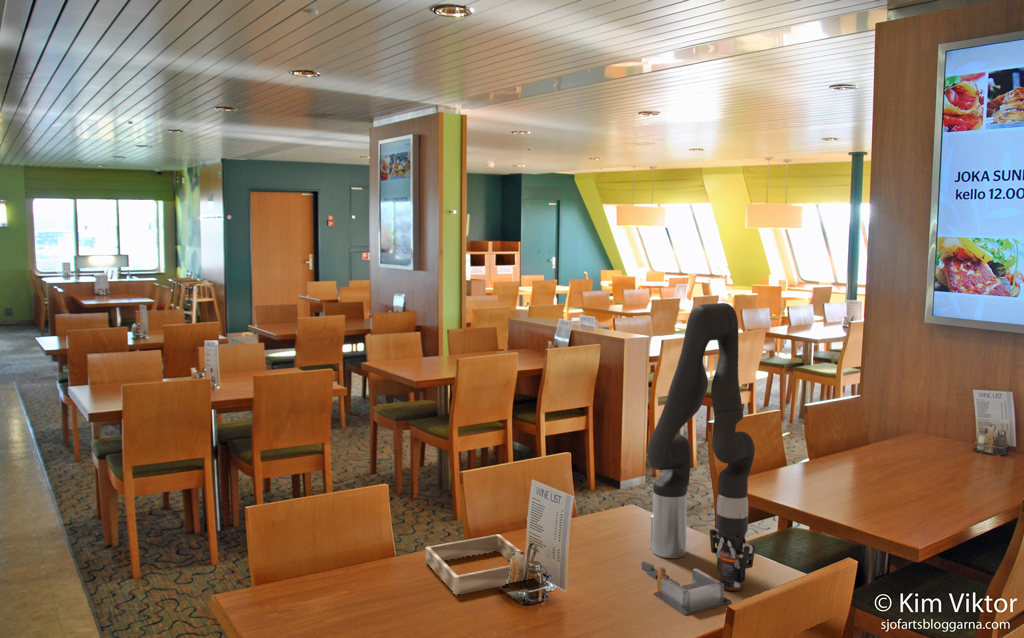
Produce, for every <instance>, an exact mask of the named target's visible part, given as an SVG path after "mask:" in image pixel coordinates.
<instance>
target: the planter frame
mask: <svg viewBox="0 0 1024 638" xmlns="http://www.w3.org/2000/svg"><path fill="white" fill-rule="evenodd" d="M424 547H425V549H424V550H425V551H424V553H425V555H424V556H425V563H426V562H427V564H428V565H429V566H430V567H431V568H432V569H433V570H434V571H435V572H436V573H437V574H438V576H439V577H440V578H441V579H442V580H443V581H444V582H445V583H446V584H447V586H448V587H449V588H450V589H451V590H452V591H453V592H452V591H451V590H450V589H449V588H448V587H447V586H446V587H447V588H448V589H449V590H450V591H451V592H452V593H453V595H454V594H455V595H456V596H458V595H457V594H460V595H464V594H470V593H474V592H478V591H484V590H489V589H493V588H499V587H501V586H502V587H503V586H506V585H505V584H506V580H507V579H508V576H509V571H510V565H511V564H509V565H504V566H499V567H494V568H489V569H484V570H479V571H473V572H469V573H463V574H459V575H458V574H456V572H455V571H454V570H453V569H452V568H451V567H449V565H448V564H447V563H446V561H445V560H448V561H452V560H451V559H454V560H458V558H459V559H463V558H462V557H464V558H467V557H466V556H470V557H473V556H472V555H475V556H480V555H485V554H484V553H486V554H490V552H491V553H494V552H493V551H496V552H498V553H499V552H500V553H501V554H502V555H503V556H502V555H501V554H500V553H499V554H500V555H501V556H502V557H503V558H504V559H506V560H507V561H509V560H510V557H511V555H512V552H513V551H521V550H520V549H519V548H518V547H516V546H515V545H514V544H513V543H512V542H510V541H509V540H507V539H506V538H505V537H503V536H502V535H501V534H498V533H497V534H492V535H486V536H481V537H475V538H470V539H465V540H459V541H458V540H457V541H452V542H447V543H440V544H436V545H430V546H424ZM479 554H480V555H479ZM509 562H510V561H509ZM427 564H426V565H427ZM428 565H427V566H428ZM429 566H428V567H429ZM430 567H429V568H430ZM438 576H437V577H438ZM439 577H438V578H439ZM440 578H439V579H440ZM441 579H440V580H441ZM442 580H441V581H442ZM455 595H454V596H455Z"/></svg>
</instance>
